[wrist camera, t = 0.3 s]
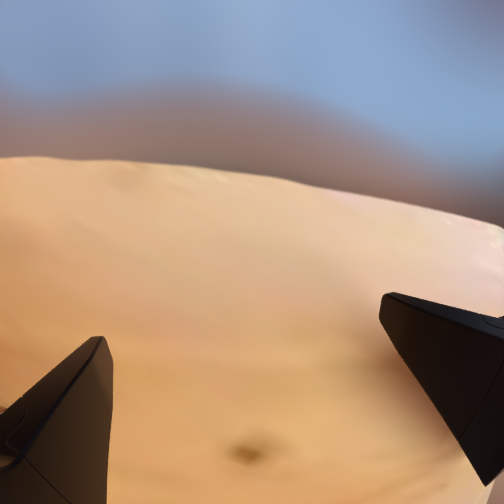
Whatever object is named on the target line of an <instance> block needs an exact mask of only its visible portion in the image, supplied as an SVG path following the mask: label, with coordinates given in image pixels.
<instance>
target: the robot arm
mask: <svg viewBox="0 0 504 504" xmlns="http://www.w3.org/2000/svg"><path fill="white" fill-rule="evenodd" d="M379 320H380V322H381V324H382V326H383V328H384V329H385V331H386V333H387V334H388V336H389V338H390V340H391V341H392V343H393V345H394V347H395V348H396V350H397V352H398V353H399V355H400V356H401V358H402V359H403V361H404V362H405V364H406V365H407V366H408V368H409V369H410V371H411V372H412V373H413V375H414V376H415V378H416V379H417V381H418V382H419V384H420V385H421V387H422V388H423V389H424V391H425V392H426V394H427V395H428V397H429V398H430V400H431V401H432V403H433V404H434V406H435V407H436V409H437V410H438V412H439V413H440V415H441V416H442V418H443V419H444V421H445V422H446V424H447V426H448V427H449V429H450V430H451V432H452V433H453V435H454V437H455V438H456V440H457V441H458V443H459V445H460V446H461V448H462V450H463V451H464V453H465V455H466V456H467V458H468V459H469V461H470V463H471V464H472V466H473V468H474V470H475V471H476V473H477V475H478V476H479V478H480V480H481V481H482V483H483V485H484V486H485V487H486V486H487V485H488V484H490V483H491V482H492V481H493V480H494V479H495V478H496V477H497V476H499V475H500V474H501V473H502V472H503V471H504V319H500V318H496V317H492V316H487V315H483V314H478V313H475V312H471V311H467V310H463V309H459V308H455V307H451V306H447V305H443V304H439V303H435V302H431V301H428V300H424V299H420V298H416V297H412V296H408V295H404V294H400V293H396V292H391V293H387V294H384V295H383V297H382V300H381V306H380V312H379ZM112 410H113V359H112V356H111V353H110V350H109V347H108V344H107V341H106V339H105V337H103V336H95V337H91V338H89V339H88V340H87V341H86V342H85V343H83V344H82V345H81V346H80V347H79V348H77V349H76V350H75V351H74V352H73V353H71V354H70V355H69V356H68V357H67V358H65V359H64V360H63V361H62V362H61V363H59V364H58V365H57V366H56V367H55V368H54V369H52V370H51V371H50V372H49V373H48V374H47V375H45V376H44V377H43V378H42V379H41V380H40V381H38V382H37V383H36V384H35V385H34V386H33V387H32V388H30V389H29V390H28V391H27V392H26V393H25V394H24V395H23V396H22V397H20V398H19V399H18V400H17V401H16V402H14V403H13V404H12V405H11V406H10V407H9V408H7V409H6V410H5V411H4V412H3V413H1V414H0V504H107V471H108V454H109V441H110V430H111V420H112ZM503 504H504V503H503Z"/></svg>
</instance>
